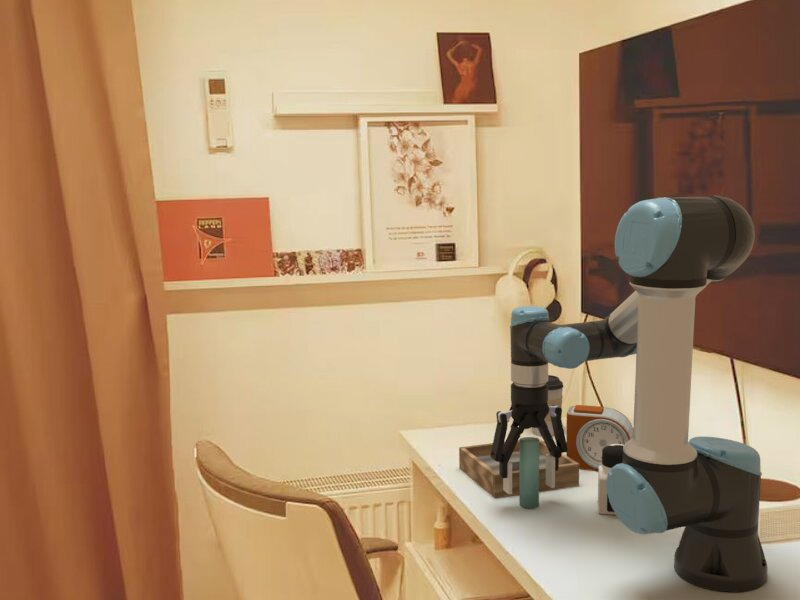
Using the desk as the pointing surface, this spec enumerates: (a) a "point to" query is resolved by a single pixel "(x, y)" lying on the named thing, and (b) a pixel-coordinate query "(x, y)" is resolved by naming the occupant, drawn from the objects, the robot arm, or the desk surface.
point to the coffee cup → (552, 400)
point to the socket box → (513, 469)
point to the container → (609, 460)
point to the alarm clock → (594, 433)
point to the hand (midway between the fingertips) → (529, 488)
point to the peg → (529, 472)
